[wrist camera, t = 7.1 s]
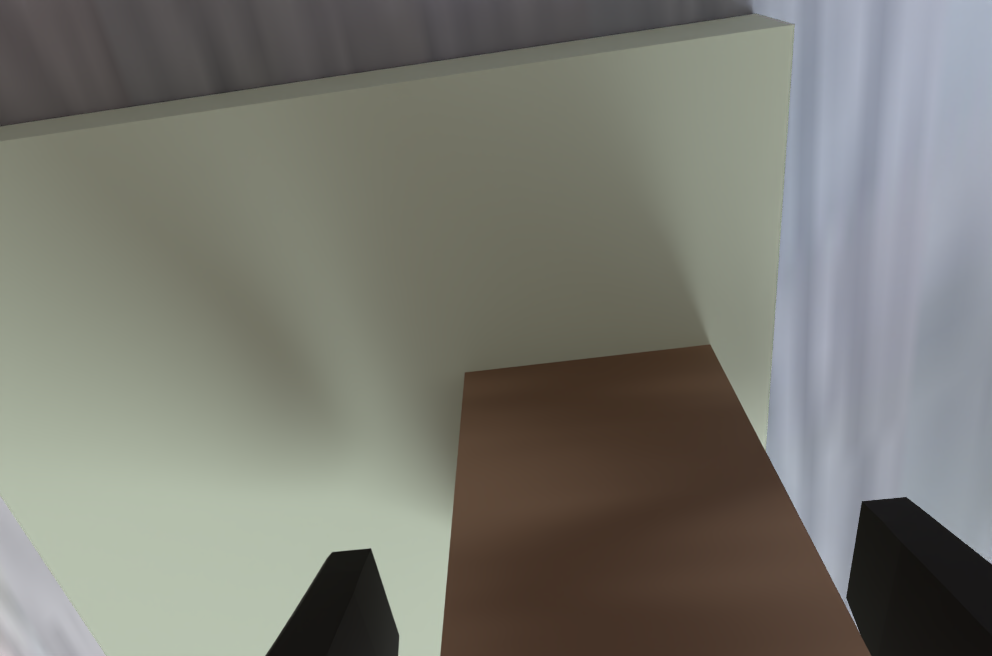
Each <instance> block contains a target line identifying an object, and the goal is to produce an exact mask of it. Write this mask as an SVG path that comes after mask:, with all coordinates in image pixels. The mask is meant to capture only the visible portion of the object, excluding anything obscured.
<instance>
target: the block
mask: <svg viewBox="0 0 992 656" xmlns="http://www.w3.org/2000/svg"><path fill="white" fill-rule="evenodd" d="M440 656H871V654H870V652H869V650H868V648H867V647H866V645H865V643H864V641H863V639H862V637H861V635H860V633H859V631H858V629H857V627H856V625H855V623H854V621H853V619H852V618H851V616H850V614H849V612H848V610H847V608H846V606H845V604H844V602H843V600H842V598H841V596H840V594H839V592H838V590H837V589H836V587H835V585H834V583H833V581H832V579H831V577H830V575H829V573H828V571H827V569H826V567H825V565H824V563H823V561H822V559H821V558H820V556H819V554H818V552H817V550H816V548H815V546H814V544H813V542H812V540H811V538H810V536H809V534H808V532H807V530H806V529H805V527H804V525H803V523H802V521H801V519H800V517H799V515H798V513H797V511H796V509H795V507H794V505H793V503H792V501H791V500H790V498H789V496H788V494H787V492H786V490H785V488H784V486H783V484H782V482H781V480H780V478H779V476H778V474H777V472H776V471H775V469H774V467H773V465H772V463H771V461H770V459H769V457H768V455H767V453H766V451H765V449H764V447H763V445H762V443H761V442H760V440H759V438H758V436H757V434H756V432H755V430H754V428H753V426H752V424H751V422H750V420H749V418H748V416H747V414H746V413H745V411H744V409H743V407H742V405H741V403H740V401H739V399H738V397H737V395H736V393H735V391H734V389H733V387H732V385H731V384H730V382H729V380H728V378H727V376H726V374H725V372H724V370H723V368H722V366H721V364H720V362H719V360H718V358H717V356H716V355H715V353H714V351H713V349H712V347H711V345H710V344H709V345H700V346H691V347H683V348H674V349H665V350H657V351H648V352H639V353H630V354H622V355H613V356H604V357H595V358H587V359H578V360H569V361H561V362H552V363H543V364H534V365H526V366H517V367H508V368H499V369H491V370H482V371H473V372H465V375H464V387H463V398H462V410H461V421H460V433H459V444H458V456H457V468H456V479H455V491H454V502H453V514H452V525H451V537H450V548H449V560H448V572H447V583H446V595H445V606H444V618H443V629H442V641H441V652H440Z"/></svg>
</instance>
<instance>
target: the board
mask: <svg viewBox="0 0 992 656" xmlns="http://www.w3.org/2000/svg"><path fill="white" fill-rule="evenodd" d="M794 27H795V24H791V23H788V22H784V21H781V20H777V19H774V18H770V17H767V16H763V15H759V14H750V15H744V16H737V17H730V18H724V19H717V20H710V21H703V22H697V23H690V24H683V25H677V26H670V27H663V28H657V29H650V30H643V31H636V32H630V33H623V34H616V35H610V36H603V37H596V38H589V39H583V40H576V41H569V42H563V43H556V44H549V45H543V46H536V47H529V48H522V49H516V50H509V51H502V52H496V53H489V54H482V55H475V56H469V57H462V58H455V59H449V60H442V61H435V62H428V63H422V64H415V65H408V66H402V67H395V68H388V69H382V70H375V71H368V72H361V73H355V74H348V75H341V76H335V77H328V78H321V79H314V80H308V81H301V82H294V83H288V84H281V85H274V86H268V87H261V88H254V89H247V90H241V91H234V92H227V93H221V94H214V95H207V96H200V97H194V98H187V99H180V100H174V101H167V102H160V103H153V104H147V105H140V106H133V107H127V108H120V109H113V110H107V111H100V112H93V113H86V114H80V115H73V116H66V117H60V118H53V119H46V120H39V121H33V122H26V123H19V124H13V125H6V126H0V496H1V497H2V499H3V500H4V502H5V503H6V505H7V506H8V508H9V510H10V511H11V513H12V514H13V516H14V517H15V519H16V520H17V522H18V523H19V525H20V526H21V528H22V529H23V531H24V532H25V534H26V535H27V537H28V538H29V540H30V541H31V543H32V544H33V546H34V547H35V549H36V550H37V552H38V553H39V555H40V556H41V558H42V559H43V561H44V562H45V564H46V565H47V567H48V569H49V570H50V572H51V573H52V575H53V576H54V578H55V579H56V581H57V582H58V584H59V585H60V587H61V588H62V590H63V591H64V593H65V594H66V596H67V597H68V599H69V600H70V602H71V603H72V605H73V606H74V608H75V609H76V611H77V612H78V614H79V615H80V617H81V618H82V620H83V621H84V623H85V624H86V626H87V627H88V629H89V631H90V632H91V634H92V635H93V637H94V638H95V640H96V641H97V643H98V644H99V646H100V647H101V649H102V650H103V652H104V653H105V655H106V656H265V655H266V654H267V652H268V651H269V649H270V648H271V646H272V645H273V643H274V642H275V640H276V639H277V637H278V636H279V634H280V633H281V631H282V629H283V628H284V626H285V625H286V623H287V622H288V620H289V618H290V617H291V615H292V614H293V612H294V611H295V609H296V607H297V606H298V604H299V603H300V601H301V599H302V598H303V596H304V594H305V593H306V591H307V590H308V588H309V586H310V585H311V583H312V581H313V580H314V578H315V577H316V575H317V573H318V572H319V570H320V568H321V567H322V565H323V564H324V562H325V560H326V559H327V557H328V556H329V555H330V554H331V553H332V552H337V551H348V550H358V549H369V548H371V549H372V552H373V555H374V559H375V562H376V565H377V568H378V571H379V574H380V577H381V580H382V583H383V586H384V590H385V593H386V596H387V599H388V602H389V605H390V608H391V611H392V614H393V617H394V621H395V624H396V627H397V630H398V633H399V651H398V656H440V652H441V641H442V629H443V618H444V606H445V595H446V583H447V572H448V560H449V548H450V537H451V525H452V514H453V502H454V491H455V479H456V468H457V456H458V444H459V433H460V421H461V410H462V398H463V387H464V375H465V372H473V371H482V370H491V369H499V368H508V367H517V366H526V365H534V364H543V363H552V362H561V361H569V360H578V359H587V358H595V357H604V356H613V355H622V354H630V353H639V352H648V351H657V350H665V349H674V348H683V347H691V346H700V345H709V344H710V345H711V347H712V349H713V351H714V353H715V355H716V356H717V358H718V360H719V362H720V364H721V366H722V368H723V370H724V372H725V374H726V376H727V378H728V380H729V382H730V384H731V385H732V387H733V389H734V391H735V393H736V395H737V397H738V399H739V401H740V403H741V405H742V407H743V409H744V411H745V413H746V414H747V416H748V418H749V420H750V422H751V424H752V426H753V428H754V430H755V432H756V434H757V436H758V438H759V440H760V442H761V443H762V445H763V447H764V449H765V451H766V439H767V424H768V410H769V395H770V380H771V365H772V351H773V336H774V321H775V306H776V292H777V277H778V262H779V248H780V233H781V218H782V203H783V189H784V174H785V159H786V144H787V130H788V115H789V100H790V86H791V71H792V56H793V41H794Z"/></svg>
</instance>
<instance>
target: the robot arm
mask: <svg viewBox="0 0 992 656" xmlns="http://www.w3.org/2000/svg"><path fill="white" fill-rule="evenodd" d="M846 598H847V601H848V603H849V606H850V609H851V611H852V614H853V616H854V619H855V621H856V624H857V627H858V629H859V632H860V634H861V637H862V639H863V641H864V643H865V645H866V647H867V648H868V650H869V652H870V654H871V656H992V564H991V563H989V562H988V561H987V560H985V559H984V558H983V557H982V556H980V555H979V554H978V553H977V552H975V551H974V550H973V549H971V548H970V547H969V546H968V545H966V544H965V543H964V542H963V541H961V540H960V539H959V538H958V537H956V536H955V535H954V534H953V533H951V532H950V531H949V530H947V529H946V528H945V527H944V526H942V525H941V524H940V523H939V522H937V521H936V520H935V519H934V518H932V517H931V516H930V515H929V514H927V513H926V512H925V511H923V510H922V509H921V508H920V507H918V506H917V505H916V504H914V503H913V502H912V501H911V500H909V499H908V498H907V497H903V498H893V499H882V500H872V501H862V505H861V511H860V517H859V523H858V530H857V536H856V542H855V548H854V554H853V560H852V566H851V572H850V578H849V584H848V591H847V597H846ZM398 651H399V633H398V630H397V627H396V624H395V621H394V617H393V614H392V611H391V608H390V605H389V602H388V599H387V596H386V593H385V590H384V586H383V583H382V580H381V577H380V574H379V571H378V568H377V565H376V562H375V559H374V555H373V552H372V549H371V548H369V549H358V550H348V551H337V552H332V553H331V554H330V555H329V556H328V557H327V559H326V560H325V562H324V564H323V565H322V567H321V568H320V570H319V572H318V573H317V575H316V577H315V578H314V580H313V581H312V583H311V585H310V586H309V588H308V590H307V591H306V593H305V594H304V596H303V598H302V599H301V601H300V603H299V604H298V606H297V607H296V609H295V611H294V612H293V614H292V615H291V617H290V618H289V620H288V622H287V623H286V625H285V626H284V628H283V629H282V631H281V633H280V634H279V636H278V637H277V639H276V640H275V642H274V643H273V645H272V646H271V648H270V649H269V651H268V652H267V654H266V655H265V656H398Z"/></svg>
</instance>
